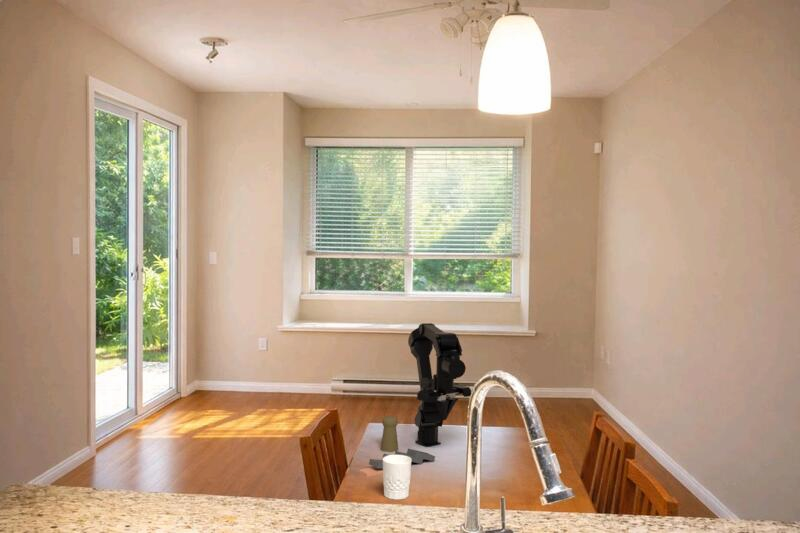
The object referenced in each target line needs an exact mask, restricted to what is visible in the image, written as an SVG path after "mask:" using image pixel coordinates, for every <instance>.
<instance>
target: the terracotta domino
mask: <svg viewBox="0 0 800 533" xmlns="http://www.w3.org/2000/svg"><path fill="white" fill-rule="evenodd" d="M358 474H361V475H363V476H364V477H366V478H367V477H372V476H377V475H381V474H383V469H381V468H376V467H374V466H370V467H366V468H361V469H358Z"/></svg>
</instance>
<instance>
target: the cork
mask: <svg viewBox="0 0 800 533" xmlns="http://www.w3.org/2000/svg"><path fill="white" fill-rule="evenodd" d="M381 422H382V425H383V429H382V430H383V431H382V436H381V442H380V450H381V452H385V451H386V452H385V453H392V452H393V453H394V451H395V452H396V451H399V442H398V431H397V426H398V423H399V420H398V418H397V417H396V416H393V415H386V416H384V417H383V418H382V420H381Z"/></svg>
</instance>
